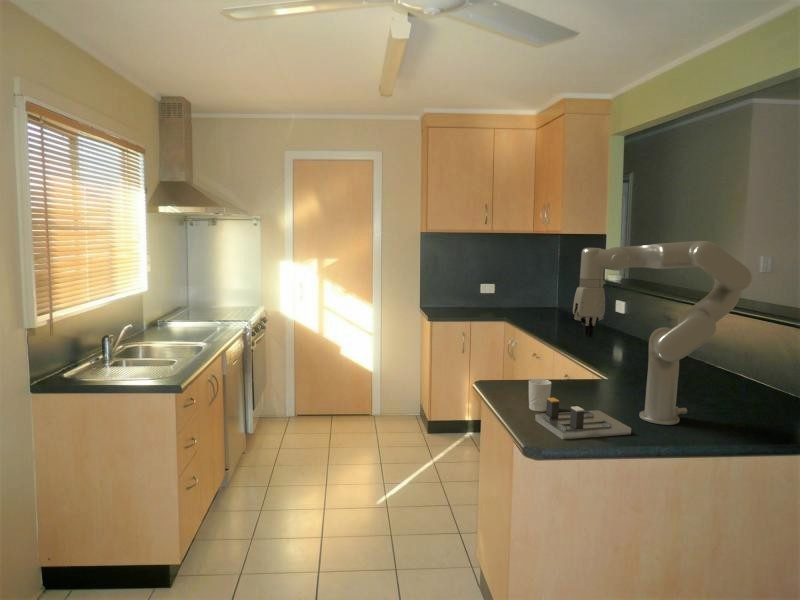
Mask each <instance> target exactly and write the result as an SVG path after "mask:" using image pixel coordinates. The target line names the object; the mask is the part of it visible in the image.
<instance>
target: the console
mask: <svg viewBox="0 0 800 600" xmlns="http://www.w3.org/2000/svg"><path fill="white" fill-rule="evenodd" d="M570 415H571V411H569V412H568V411H566V412H559V414H558V418H557V419H551V417H550V416H548V415H547V414H546V412H543V413H542V412H541V413H540V414H539V413H538V414H537V413H536V414H535V415H534V416H535V417H534V418H535V419H534V421H536V422H538V424H540V425H541V426H543V427H544V428H546V429H547V430H548V431H550V432H551V433H553V434H554V435H556V436H557V437H558V438H559V439H561V440H575V439H584V438H585V439H586V438H598V437H599V438H600V437H609V436H611V437H613V436H623V435H624V436H625V435H632V428H631V427H630V426H629V425H627V424H624V423H623V422H621V421H620V420H617V419H615V418H614V417H612V416H610V415H608V414H606V413H604V412H603V411H601V410H588V409H587V410H584V422H583V428H580V429H575V428H574V427H572V426H571V425H570Z"/></svg>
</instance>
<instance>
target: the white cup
mask: <svg viewBox="0 0 800 600" xmlns="http://www.w3.org/2000/svg"><path fill="white" fill-rule="evenodd" d="M551 390H552V381H550V380H549V379H543V378H531V379H528V409H529V410H531V411H534V412H541V413H542V412H543V413H545V412H546V407H547V398H551Z"/></svg>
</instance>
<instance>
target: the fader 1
mask: <svg viewBox="0 0 800 600" xmlns="http://www.w3.org/2000/svg"><path fill="white" fill-rule="evenodd" d="M559 409H560V400H559V399H557V398H556V397H550V398H547V407H546V411H545V413H546V414H547V415H548V416H550V417H551V419H557V418H558V414H559V413H560V412H559Z"/></svg>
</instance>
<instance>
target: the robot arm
mask: <svg viewBox="0 0 800 600" xmlns="http://www.w3.org/2000/svg"><path fill="white" fill-rule="evenodd" d="M628 268H629V269H630V268H631V269H632V268H648V269H656V270H658V269H659V270H667V269H684V268H700V269H702V270H703V271H704V272H705V273H706V274H708V275H709V276H710V277H712V278H713V280H714V284H713V288H712V290H710V292H709V293H707V295H706V296H705V297H703V298H702V299H700V300H699V301H698V302H696V303H695V304H694V305H693V306H691V307H689V308H687V309H686V310H684V311H683V312H681V314H680V315H679V317H678V319H677V325H675V326H674V327H672V328H670V327H659V328H657V329H655V330H654V331H653V332H652V333H651V334H650V336H649V339H648V363H647V366H648V367H647V377H646V387H645V403H644V410H642V411H639V418H640V419H641V420H643V421H645V422H649V423H653V424H655V425H656V424H657V425H663V426H664V425H665V426H666V425H667V426H672V425H673V426H674V425H677V424H679V423H680V420H681V419H680V417H679V416H678V415H680V414H681V415H682V414H688V409H687V408H686V407H680V408H679V406H676V404H677V396H678V395H677V394H678V384H679V383H678V381H679V375H680V374H679V372H680V360H682V359H684V358H685V357H686V356H689V355H690V354H691V353H692V352H694V351H695V350H698V348H700V347H701V346H703V345H704V344H705V343H707V342H708V341H709V340H711V339H712V337H713V336H714V334H715V332H716V330H717V323H718V322H719V321H721V320H722V319H723V318H724V317H725V316H727V315H728V314H730V312H731V311H733V310H734V308H735V307H736V305H737V304H738V303H739V300H740V297H741V294H742V293H741V292H742V291H744V290H746V289H747V288H748V287H749V286H750V285H751V283H752V281H753V280H752V279H753V276H752V272H751V271H750V269H749V268H748V267H747V266H746V265H745V264H743V263H742V262H741V261H739V260H738V259H737V258H735V257H734V256H732V255H731V254H730V253H728V252H727V251H726V250H725V249H723V248H722V247H720V246H719V245H718V244H716V243H715V242H712V241H707V240H695V241H693V240H692V241H691V240H690V241H678V242H676V241H675V242H664V243H663V242H661V243H660V242H659V243H653V244H646V245H630V246H629V245H628V246H618V247H617V246H615V247H610V248H606V249H605V248H601V247H584V248H583V249H582V250H581V258H580V271H579V272H580V274H579V286H578V287H577V288H576V289H575V290H576V291H575V294H574V298H573V306H572V314H573V315H574V317H573V318H574V320H576V321H579V322H580V323H581V324H582V325H583V326H582V334H583V337H585V338H593V335H594V326H596V323H597V322H599V321H601V320H604V316H605V312H606V293H605V288H604V285H606V283H607V282H606V280H604V272H605V270H608V271H609V270H610V271H618V272H619V271H623V270H624V269H628Z"/></svg>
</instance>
